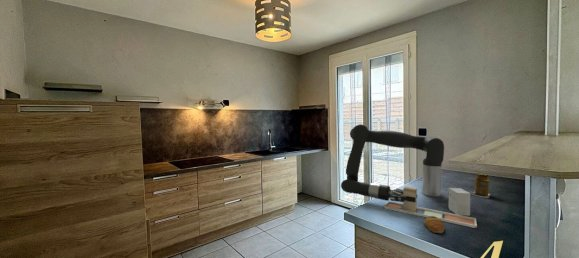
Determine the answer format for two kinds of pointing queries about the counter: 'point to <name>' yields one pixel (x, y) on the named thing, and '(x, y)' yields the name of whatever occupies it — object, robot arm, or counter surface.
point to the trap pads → (444, 218)
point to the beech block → (412, 193)
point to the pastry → (434, 224)
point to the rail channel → (435, 212)
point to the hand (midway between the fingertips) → (416, 198)
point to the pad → (433, 214)
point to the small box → (459, 201)
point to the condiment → (481, 185)
